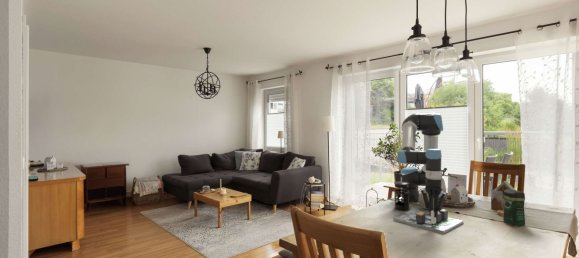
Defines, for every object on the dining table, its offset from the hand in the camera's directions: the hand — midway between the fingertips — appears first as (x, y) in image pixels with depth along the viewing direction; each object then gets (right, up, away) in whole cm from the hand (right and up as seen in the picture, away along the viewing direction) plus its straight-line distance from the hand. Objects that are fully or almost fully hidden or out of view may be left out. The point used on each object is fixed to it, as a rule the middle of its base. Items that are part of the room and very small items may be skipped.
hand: (433, 222), depth 158 cm
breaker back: (+11, -1, +12) cm, 16 cm away
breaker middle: (+5, -1, +7) cm, 8 cm away
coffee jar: (+47, -3, +6) cm, 47 cm away
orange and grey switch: (-4, -1, +5) cm, 7 cm away
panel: (+2, -3, +11) cm, 11 cm away
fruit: (+13, -2, +36) cm, 39 cm away
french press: (-3, -3, +36) cm, 36 cm away
